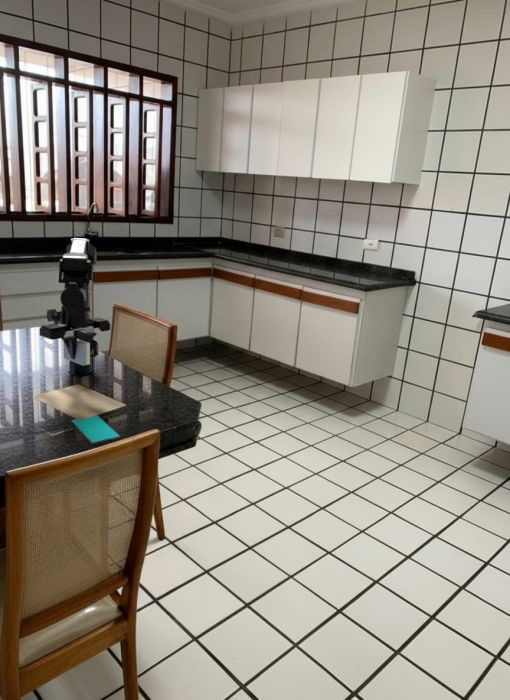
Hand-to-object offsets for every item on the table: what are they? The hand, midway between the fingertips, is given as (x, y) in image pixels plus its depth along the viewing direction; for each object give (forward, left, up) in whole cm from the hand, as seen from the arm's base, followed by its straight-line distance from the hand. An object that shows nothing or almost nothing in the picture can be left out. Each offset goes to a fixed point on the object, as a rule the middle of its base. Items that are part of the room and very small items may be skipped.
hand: (76, 358), depth 148 cm
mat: (+2, +4, -11) cm, 12 cm away
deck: (0, 0, -1) cm, 1 cm away
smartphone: (+10, +21, -12) cm, 26 cm away
